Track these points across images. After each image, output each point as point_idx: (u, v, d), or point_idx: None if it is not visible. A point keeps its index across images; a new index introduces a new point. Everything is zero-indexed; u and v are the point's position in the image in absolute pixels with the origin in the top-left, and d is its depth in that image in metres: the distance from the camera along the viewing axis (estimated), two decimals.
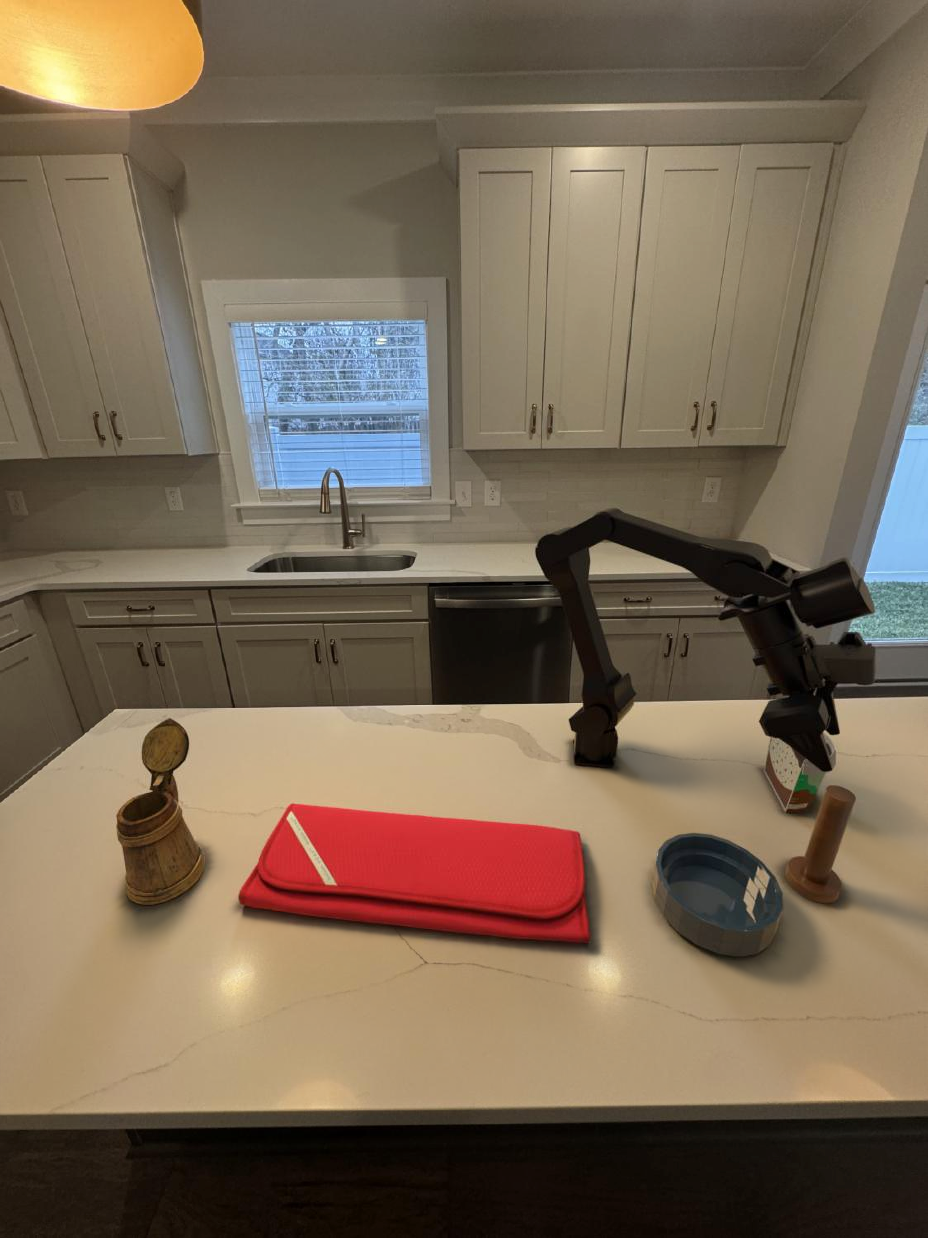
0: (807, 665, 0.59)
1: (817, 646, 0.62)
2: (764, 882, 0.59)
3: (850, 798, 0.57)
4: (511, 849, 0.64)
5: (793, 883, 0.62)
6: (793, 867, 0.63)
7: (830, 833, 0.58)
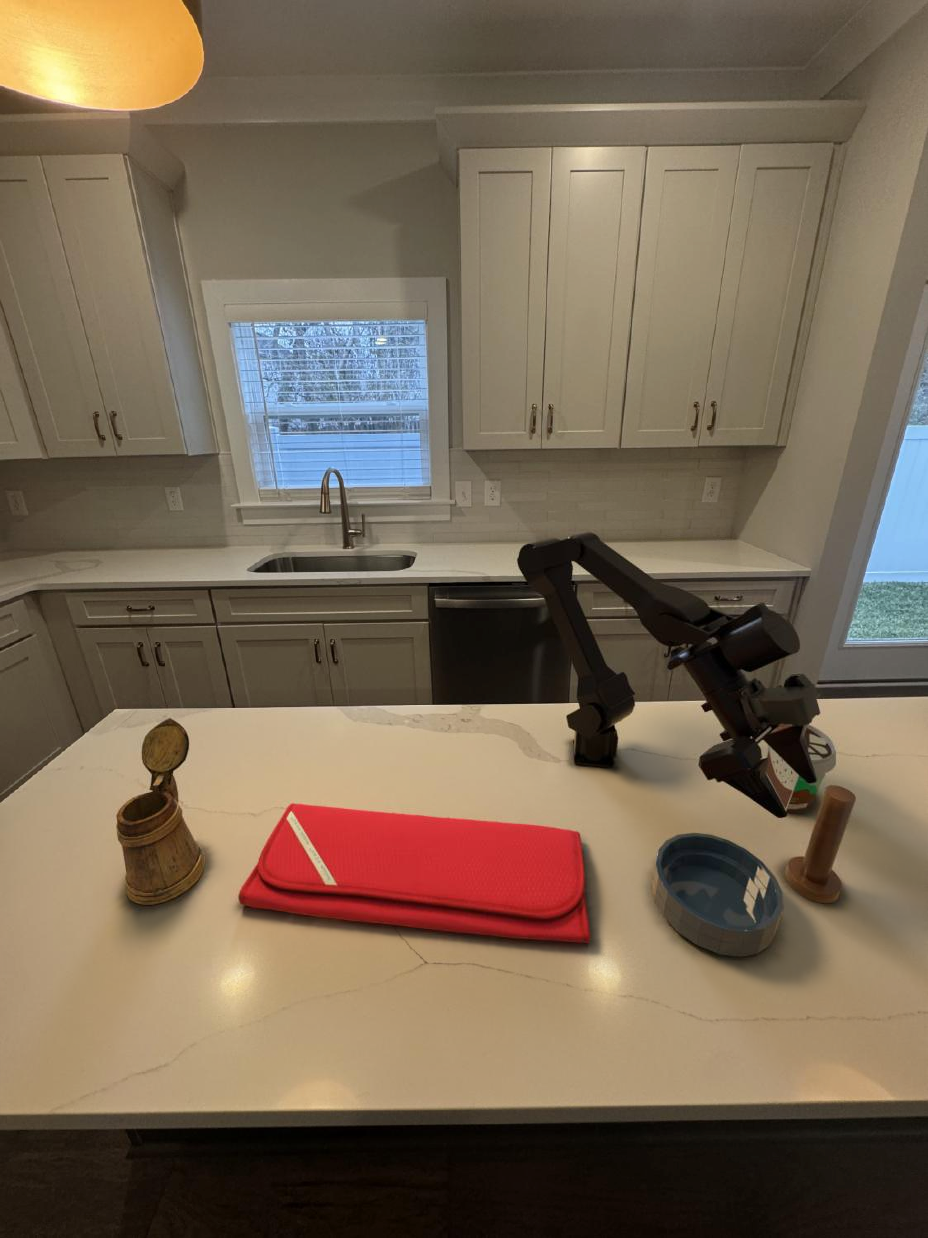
0: (745, 708, 0.61)
1: (762, 690, 0.63)
2: (764, 882, 0.59)
3: (850, 798, 0.57)
4: (511, 849, 0.64)
5: (793, 883, 0.62)
6: (793, 867, 0.63)
7: (830, 833, 0.58)
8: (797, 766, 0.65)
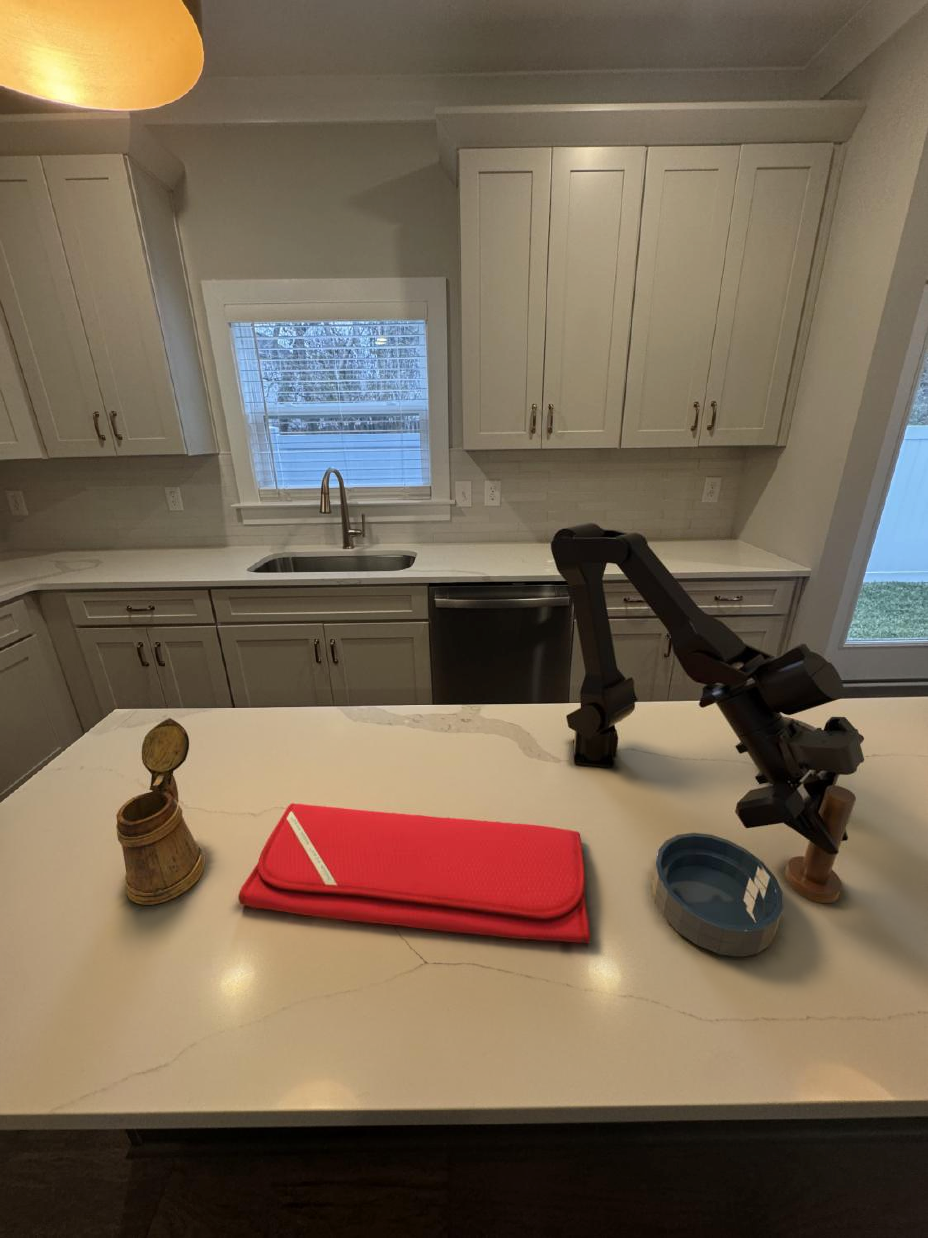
0: (784, 753, 0.58)
1: (801, 732, 0.60)
2: (764, 882, 0.59)
3: (850, 798, 0.57)
4: (511, 849, 0.64)
5: (793, 883, 0.62)
6: (793, 867, 0.63)
7: (830, 833, 0.58)
8: None
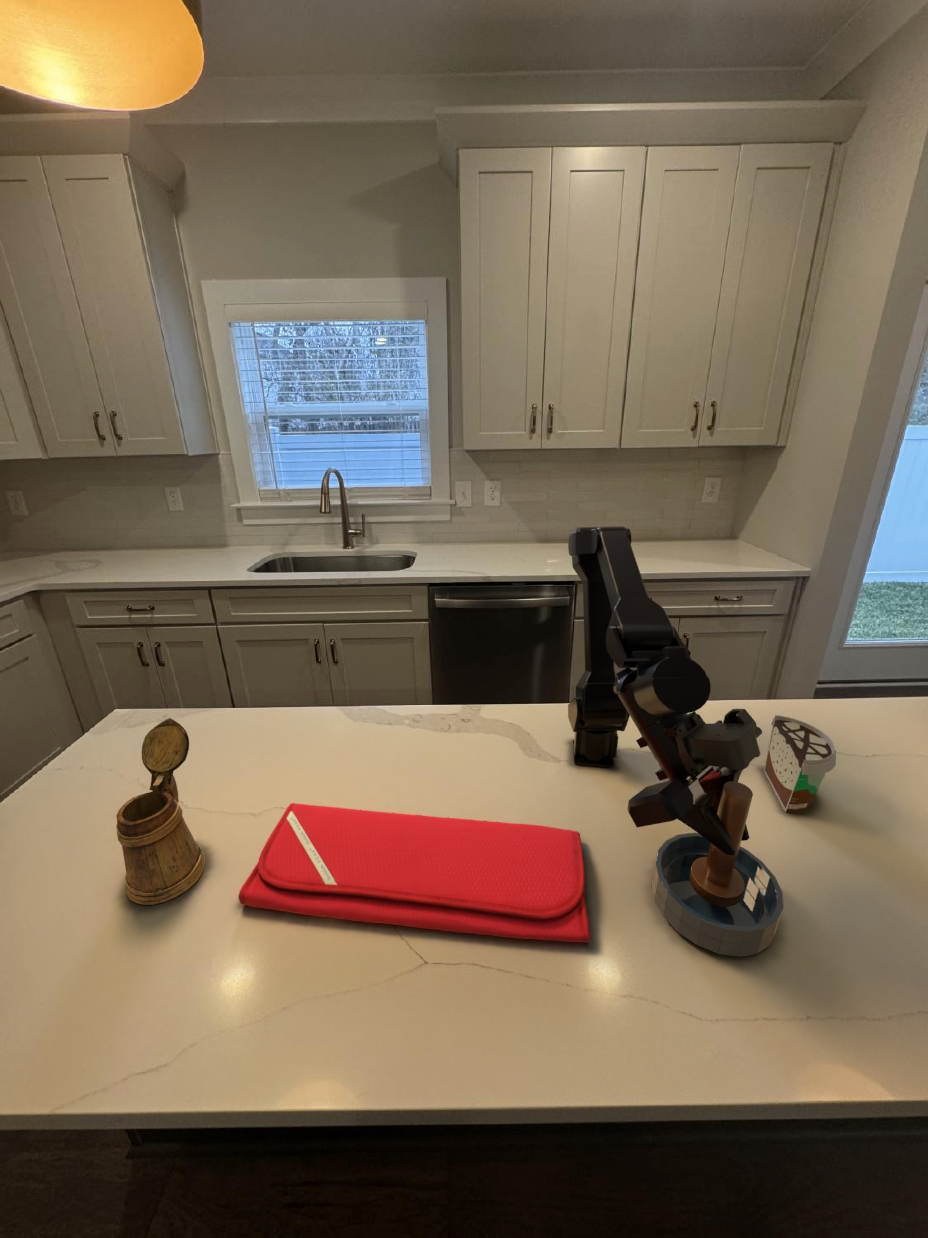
0: (679, 747, 0.55)
1: (701, 725, 0.57)
2: (764, 882, 0.59)
3: (746, 795, 0.53)
4: (511, 849, 0.64)
5: (695, 885, 0.58)
6: (697, 868, 0.60)
7: (727, 832, 0.55)
8: None
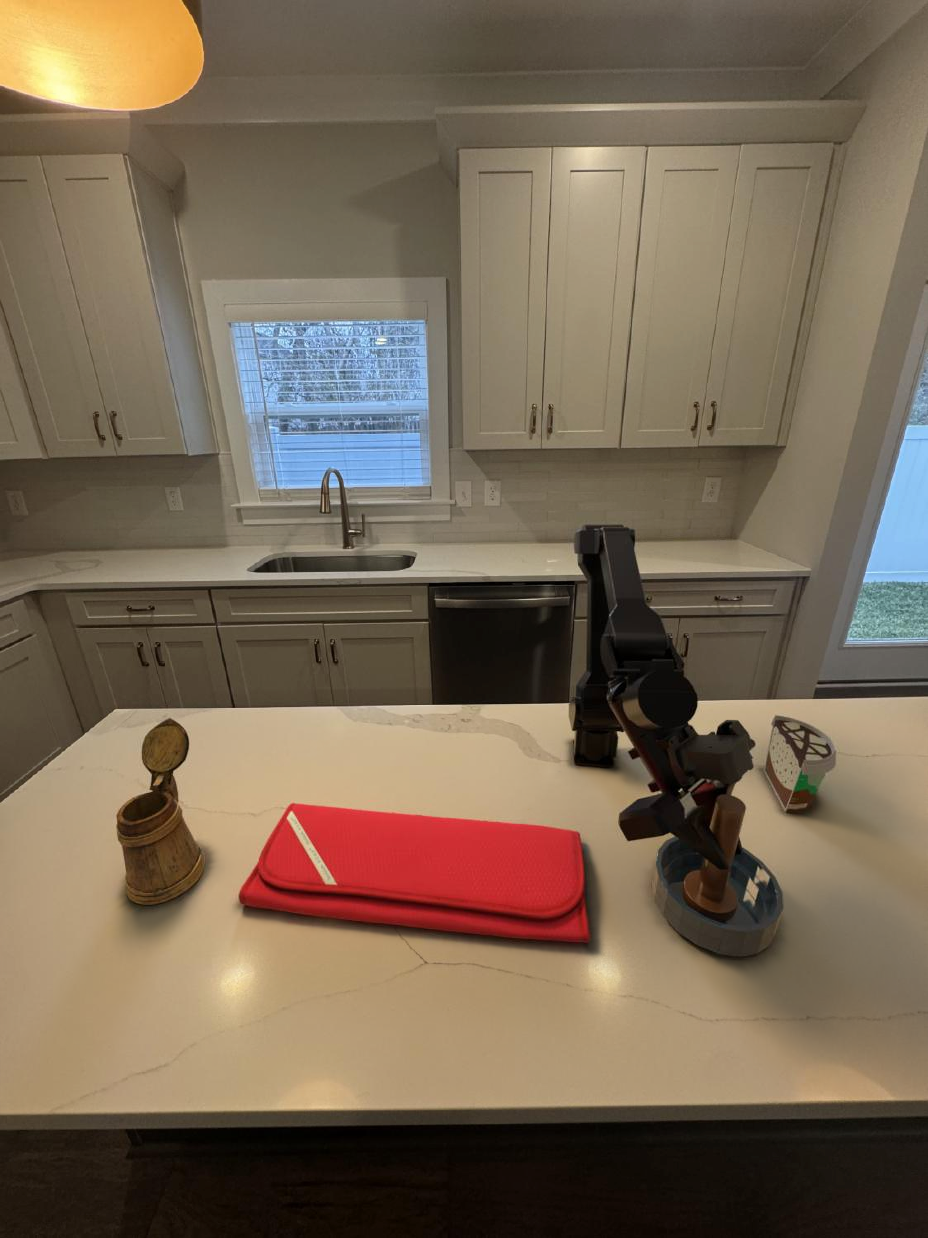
0: (671, 759, 0.54)
1: (693, 737, 0.56)
2: (764, 882, 0.59)
3: (739, 809, 0.52)
4: (511, 849, 0.64)
5: (687, 900, 0.57)
6: (690, 882, 0.58)
7: (720, 846, 0.53)
8: None
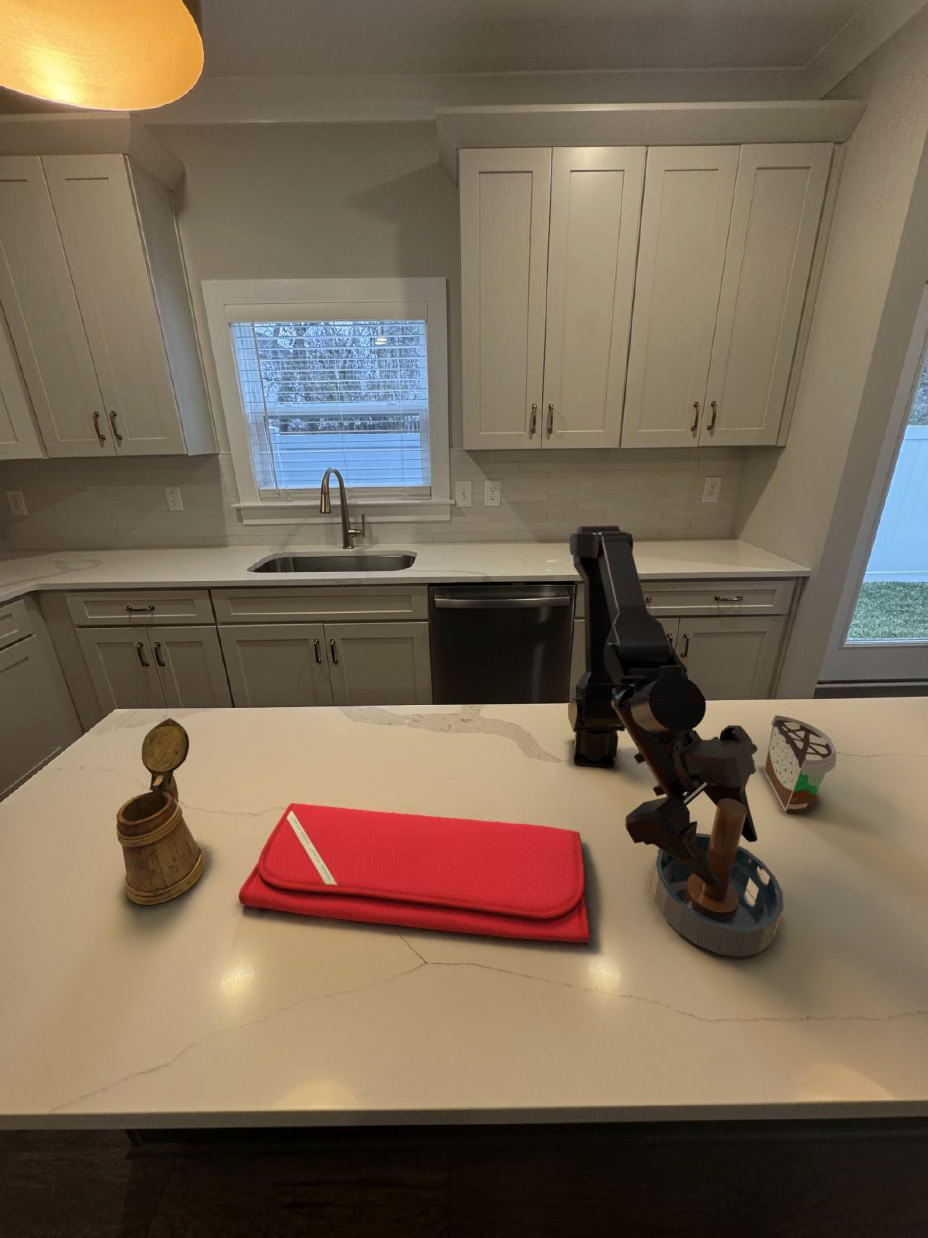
0: (676, 763, 0.56)
1: (697, 742, 0.57)
2: (764, 882, 0.59)
3: (740, 812, 0.54)
4: (511, 849, 0.64)
5: (690, 900, 0.59)
6: (693, 883, 0.61)
7: (722, 848, 0.56)
8: None
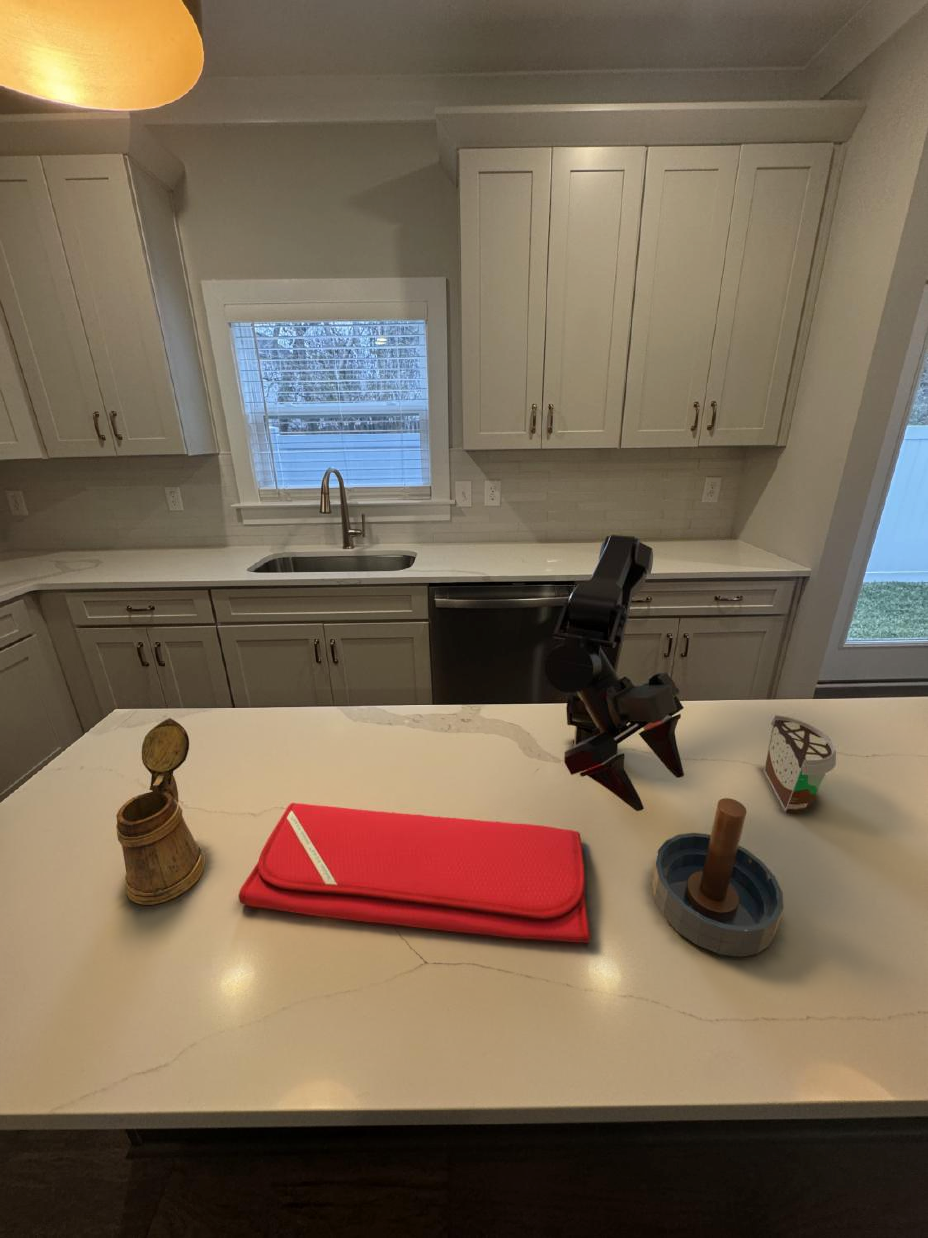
0: (609, 705, 0.63)
1: (629, 688, 0.65)
2: (764, 882, 0.59)
3: (740, 812, 0.54)
4: (511, 849, 0.64)
5: (690, 900, 0.59)
6: (693, 883, 0.61)
7: (722, 848, 0.56)
8: (667, 761, 0.67)
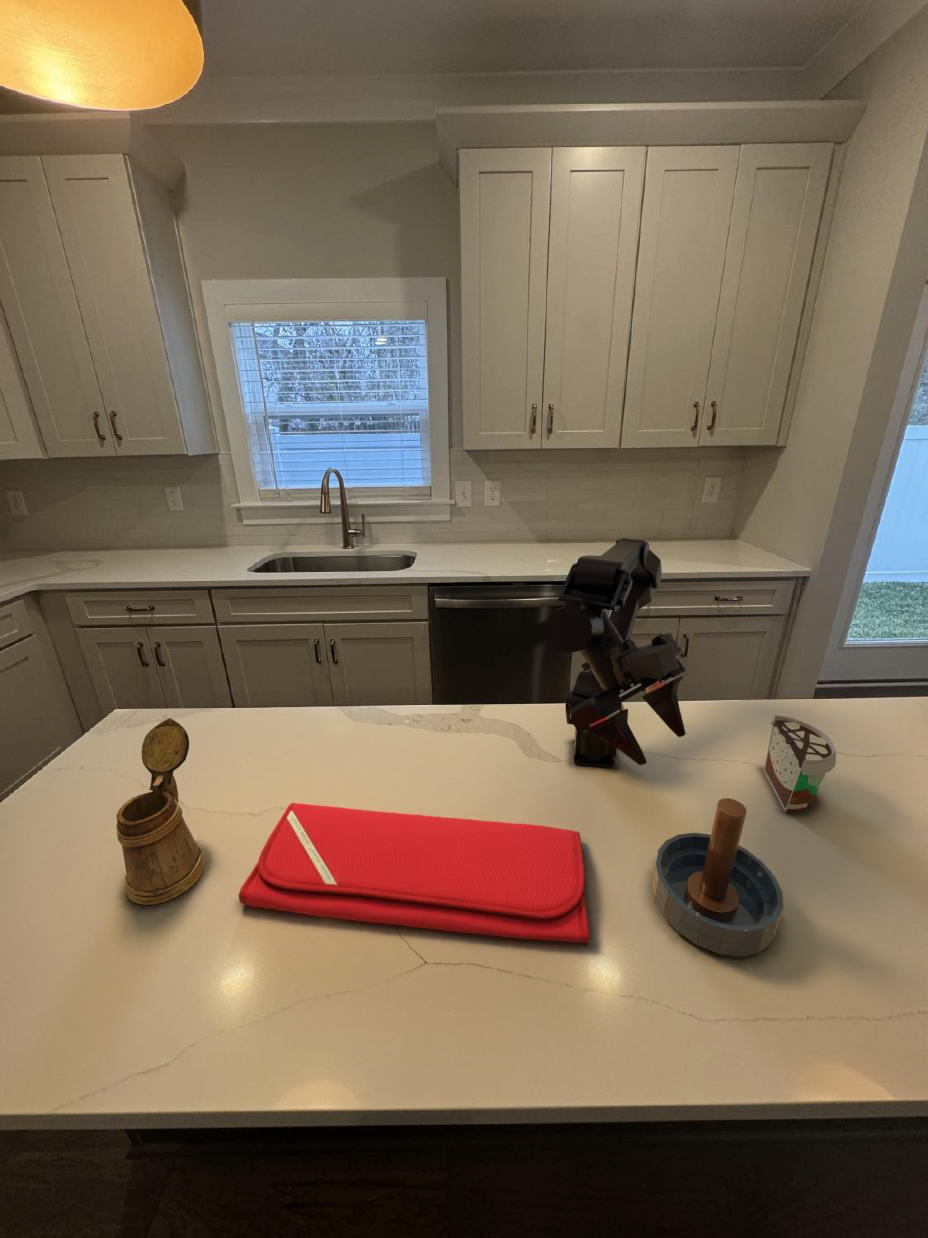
0: (613, 665, 0.65)
1: (633, 649, 0.67)
2: (764, 882, 0.59)
3: (740, 812, 0.54)
4: (511, 849, 0.64)
5: (690, 900, 0.59)
6: (693, 883, 0.61)
7: (722, 848, 0.56)
8: (669, 721, 0.70)
